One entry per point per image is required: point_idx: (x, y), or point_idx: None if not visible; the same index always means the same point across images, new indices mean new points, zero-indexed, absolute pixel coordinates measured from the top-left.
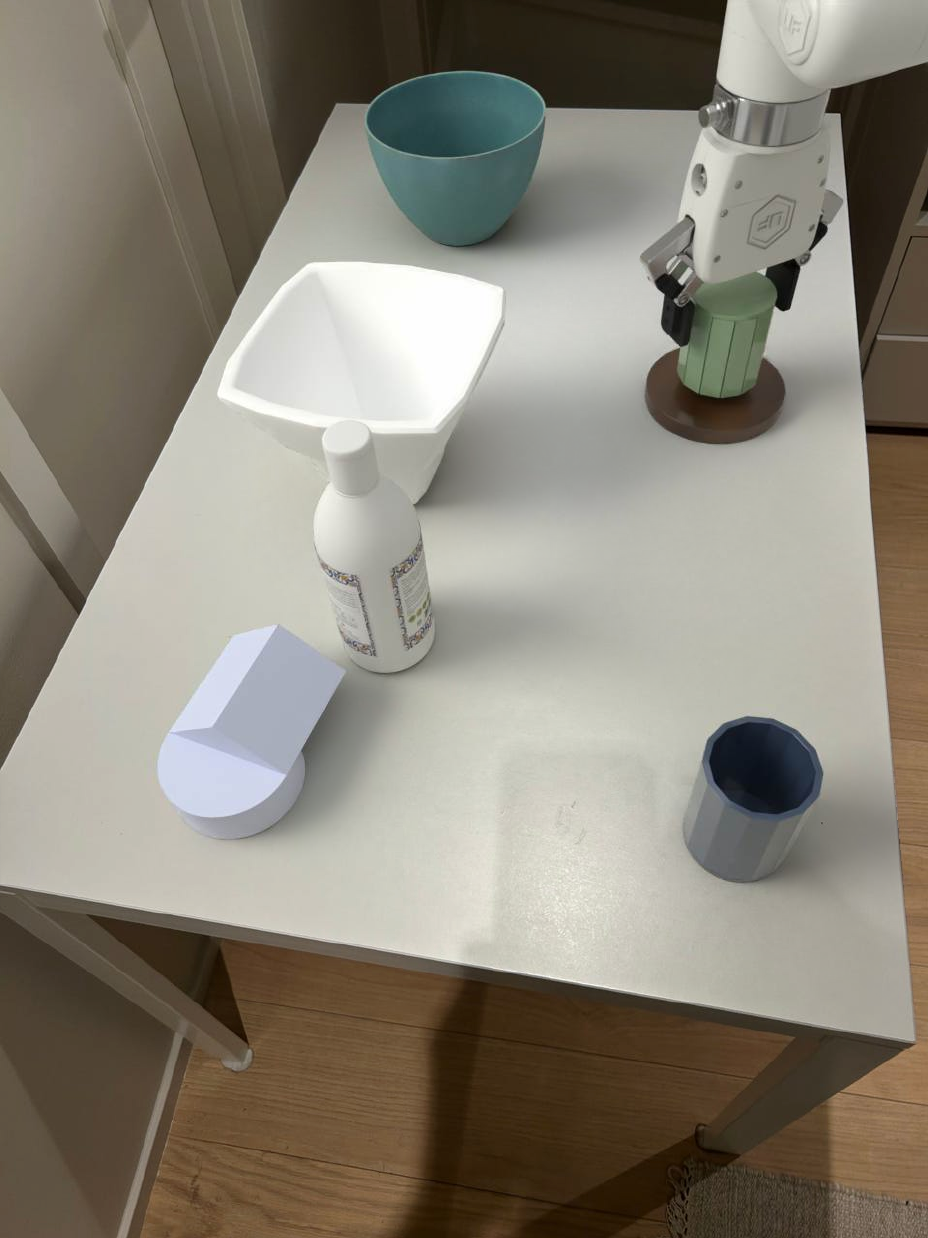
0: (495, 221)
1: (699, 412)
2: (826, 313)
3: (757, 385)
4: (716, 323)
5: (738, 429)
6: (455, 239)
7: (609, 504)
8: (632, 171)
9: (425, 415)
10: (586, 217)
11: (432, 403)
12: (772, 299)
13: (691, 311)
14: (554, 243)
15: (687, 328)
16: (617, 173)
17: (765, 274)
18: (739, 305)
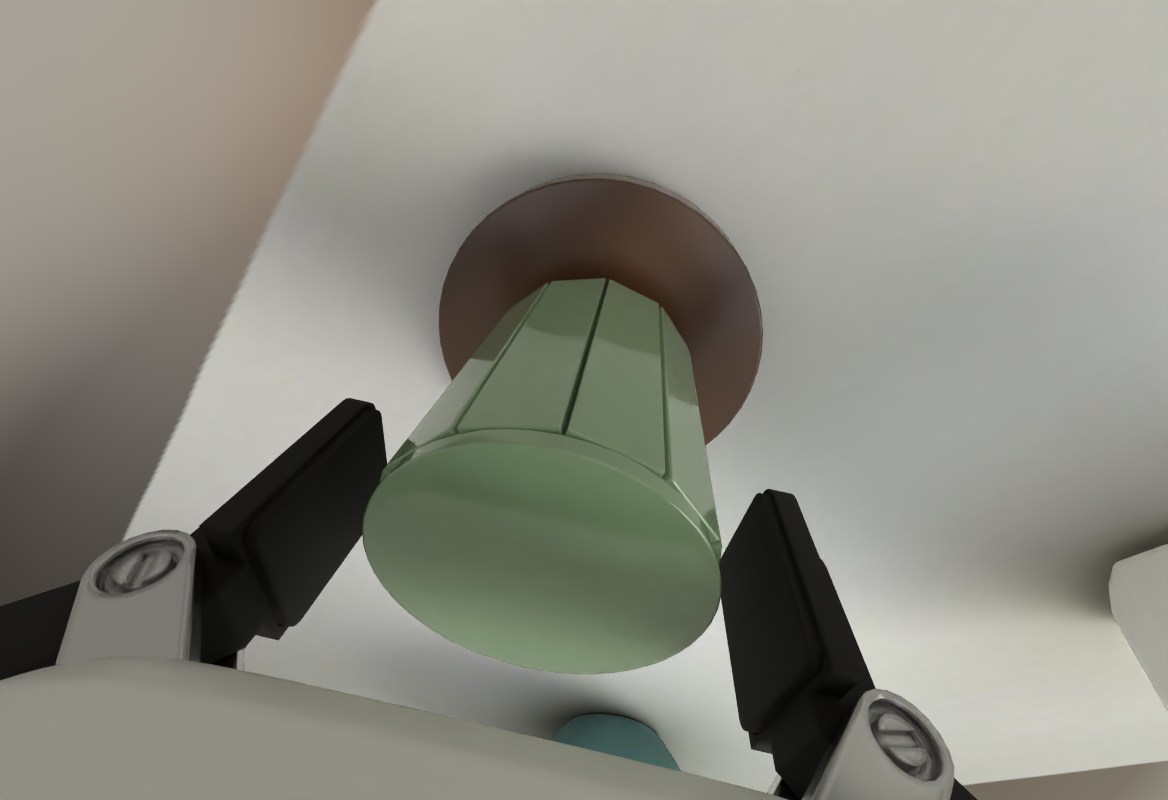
0: (610, 752)
1: (698, 314)
2: (249, 370)
3: (514, 295)
4: (709, 510)
5: (675, 199)
6: (655, 743)
7: (1108, 227)
8: (375, 681)
9: (1134, 634)
10: (475, 674)
11: (1153, 658)
12: (427, 468)
13: (832, 633)
14: (542, 673)
15: (809, 554)
16: (393, 687)
17: (350, 548)
18: (585, 528)
